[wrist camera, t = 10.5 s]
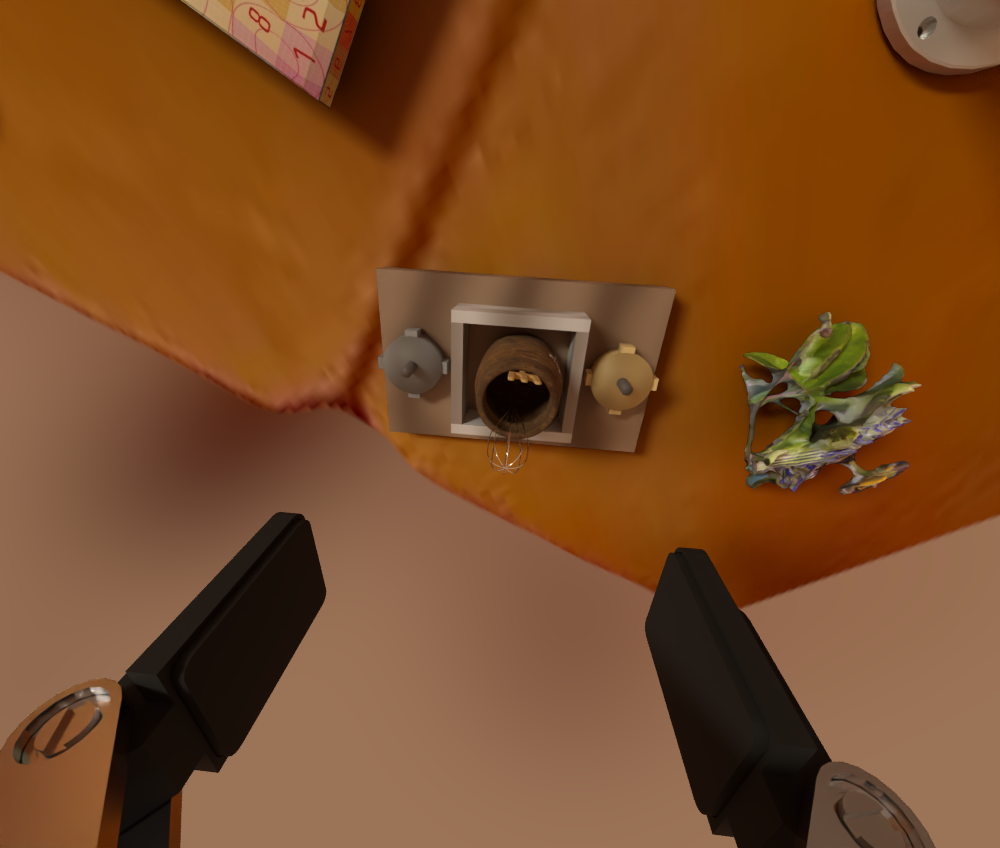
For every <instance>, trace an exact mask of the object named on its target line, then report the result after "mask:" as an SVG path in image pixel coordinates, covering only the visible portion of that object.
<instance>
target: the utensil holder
mask: <svg viewBox="0 0 1000 848" xmlns="http://www.w3.org/2000/svg"><path fill="white" fill-rule="evenodd" d="M475 393H476V406H477V410H478V413H479V416H480V418H481V419H482V421H483V422H484V424H485V425H486V426H487V427H488V428H489V429H490V430H492V431H493V432H494V433H495V437H496V434H498V436H499V435H500V436H503V437H506V438H508V441H509V445H510V439H519V443H520V439H524V441H525V438H527V440H528V438H530V437H533V436H535V435H537V434H539V433H541V432H542V431H544V430H545V429H546V428H547V427H548V426H549V425H550V424H551V423H552V421H553V419H554V418H555V416H556V413H557V410H558V406H559V401H560V398H561V393H562V378H561V372H560V368H559V364H558V361H557V358H556V356H555V354H554V352H553V350H552V349H551V348H550V346H549V345H548V344H547V343H546V342H545V341H543V340H542V339H540V338H539V337H537V336H534V335H532V334H528V333H512V334H508V335H505V336H503V337H501V338H499V339H498V340H496V341H495V342H494V343H493V344H492V345H491V346H490V347H489V348H488V350H487V351H486V353H485V355H484V356H483V359H482V361H481V363H480V366H479V368H478V371H477V375H476V380H475ZM492 431H491V433H492ZM491 433H490V435H491ZM497 438H498V437H497ZM489 439H490V436H489ZM496 441H497V439H496ZM496 441H495V439H494V447H495V443H496ZM488 444H489V440H488ZM523 447H524V442H523ZM507 448H508V452H509V446H508V443H507ZM528 448H529V441H528ZM522 450H523V448H522ZM493 451H494V448H493ZM495 452H496V448H495ZM521 453H522V451H521V445H520V454H519V456H520V458H521ZM496 455H497V452H496ZM487 456H488V446H487ZM506 456H507V458H508V453H507V450H506ZM519 456H518V457H519ZM497 457H498V455H497ZM518 457H517V459H518ZM527 457H528V450H527ZM527 457H526V460H527ZM488 458H489V456H488ZM492 458H493V452H492ZM498 459H499V457H498ZM517 459H516V460H517ZM489 460H490V458H489ZM516 460H515V461H516ZM526 460H525V462H526ZM490 461H491V466H492V463H493V462H492V460H490ZM499 461H500V459H499ZM515 461H514V462H515ZM500 462H501V461H500ZM514 462H513V463H514ZM525 462H524V463H525ZM513 463H511V464H510V465H512V464H513ZM524 463H523V464H524ZM493 464H495V463H493ZM501 464H502V462H501ZM505 464H507V459H506V458H505ZM523 464H522V465H523ZM495 465H496V464H495ZM502 465H503V464H502ZM510 465H509V466H510ZM522 465H520V460H519V466H518V467H515V468H518V470H519V467H520V466H522ZM496 466H498V465H496ZM503 466H504V465H503ZM509 466H507V467H509ZM499 467H501V466H499ZM507 467H506V465H505V466H504V467H502V468H503V469H504V474H505V470H506V469H507ZM492 468H493V466H492ZM493 469H494V468H493ZM503 469H500V470H503ZM508 469H514V468H508ZM508 469H507V470H508ZM494 470H496V469H494ZM518 470H517V471H518ZM496 471H499V470H496ZM508 471H509V470H508ZM517 471H516V472H517ZM509 472H511V471H509ZM516 472H511V473H516Z"/></svg>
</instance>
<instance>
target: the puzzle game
mask: <svg viewBox="0 0 1000 848" xmlns="http://www.w3.org/2000/svg"><path fill="white" fill-rule="evenodd" d="M181 1H182V2H184V3H185V4H186V5H188V6H189V7H191V8H192V9H193V10H195V11H196V12H197V13H199V14H200V15H202V16H203V17H204V18H206V19H207V20H208V21H210V22H211V23H213V24H214V25H215V26H217V27H218V28H219V29H221V30H222V31H224V32H225V33H226V34H228V35H229V36H230V37H232V38H233V39H235V40H236V41H237V42H239V43H240V44H241V45H243V46H244V47H246V48H247V49H248V50H250V51H251V52H252V53H254V54H255V55H257V56H258V57H259V58H261V59H262V60H263V61H265V62H266V63H268V64H269V65H270V66H272V67H273V68H274V69H276V70H277V71H279V72H280V73H281V74H283V75H284V76H285V77H287V78H288V79H289V80H291V81H292V82H294V83H295V84H296V85H298V86H299V87H300V88H302V89H303V90H305V91H306V92H307V93H309V94H310V95H311V96H313V97H314V98H316V99H317V100H318V101H320V102H321V103H323V104H324V105H325V106H327V107H328V108H330V106H331V103H332V100H333V97H334V94H335V91H336V89H337V87H338V84H339V81H340V78H341V74H342V71H343V68H344V65H345V62H346V59H347V56H348V53H349V50H350V47H351V44H352V41H353V38H354V35H355V32H356V29H357V26H358V22H359V19H360V16H361V13H362V10H363V7H364V4H365V1H366V0H181Z"/></svg>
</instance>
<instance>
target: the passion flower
mask: <svg viewBox="0 0 1000 848" xmlns="http://www.w3.org/2000/svg"><path fill="white" fill-rule="evenodd" d="M831 317H832V316H831V313H829V312H826V313H823V314H821V315H820V316H819V317H818V319H819V320H820V321H821V322H822V327H820V328H818V329H816V330H815V331H814V332H813V333H812V334H811V335H810V336H809V337H808V338H807V339H806V340H805V342H804V343H803V344H802V345H801V346H800V348H799V349H798V351H797V352H796V353H795V354H794V356H793V357H792V359H791V360H790V362H789V363H788V362H787V360H785V359H782V358H779V357H777V356H775V355H772V354H768V353H761V352H752V353H745V354H744V356H745V358H749V359H751V360H753V361H755V362H757V363H759V364H760V365H762V366H763V367H765V368H766V369H768V370H769V371H770V372H771V374H772V376H773V380H772V382H771V383H767V382H765V381H764V380H762V379H753V378H751V377H750V376H749V375H748V374H747V373H746V371H745V368H744V366H743V364H742V365H741V366H740V369H741V371H742V376H743V378H744V380H745V383H746V387H747V391H748V402H747V404H748V406H749V407H750V412H751V415H750V425H749V434H748V440H747V445H746V448H745V461H746V463H747V466H745V469H746V470H747V471H748V472H750V473H751V474H750V475H749V476H748V477H747V479H746V483H747V485H748V486H749V487H751V488H754V489H756V487H757V486H759V485H761V484H762V483H764V482H772V483H774V484H777V485H779V486H780V487H781V488H784V489H786V488H787V487H789V486H790V485H791V486H790V489H791V490H792V492H793V491H795V490H796V489H797V487H798V486H799V485H800V484H802V482H804V481H805V480H807V479H810V478H813V477H815V476H816V475H817V474H818V472H819V471H820V470H821V467H823V466H825V465H828V464H831V463H835V464H841V465H844V466H847V467H848V468H849V469H850V470H852V472H853V478H852V479H851V480H850V481H849V482H847V483H845V484H844V485H842V486H841V487H840V489H839V492H840V493H841V494H842V495H844V494H849V493H856V492H861V491H863V490H864V489H867V488H869V487H874V488H875V487H876V486H877V485H878V484H880V483H882V482H883V481H885V480H887V479H889V478H893V477H895V476H897V475H898V474H899V473H902V472H903V470H904V469H906V468H908V467H909V463H908V462H905V461H900V462H895V463H892V464H887V465H886V464H883V465H880V466H879V467H877V468H876V469H875V470H872V471H866V470H864V469H862V468H861V467H859V466H858V465H856V464H855V453H857V450H858V449H860V448H862V446H863V445H867V444H870V443H873V442H875V441H874V440H876V439H878V438H880V437H883V436H885V435H886V434H889V433H890V432H892V431H893V430H894V429H896V428H897V427H899V426H902V425H903V424H906V423H908V422H911V421H909V420H907V419H906V418H903V417H902V414H904V413H903V412H904V411H905V410H907V408H897V407H891V406H890V404H891V402H892V401H893V400H895V399H897V398H898V397H900V396H901V395H903V394H907V393H909V392H913V391H915V390H914V389H913V388H916V387H919V386H921V384H918V383H916V381H912V382H901V381H902V377H903V376H904V370H903V367H901V366H900V365H898V364H896V363H894V364H892V368H891V369H890V370H889V373H888V374H886V375H883V377H882V378H881V380H880V381H879V382H876V383H875V384H874V386H873V387H872V388H870V389H868V390H867V391H865V392H863V393H861V394H859V395H857V396H854V397H849V398H845V399H836V398H831V397H826V396H825V395H831V393H833V392H846V391H850V390H855V389H860V388H862V387H861V386H864V385H865V383H866V382H867V378H866V377H867V374H866V370H865V366H866V364H867V361H868V359H869V357H870V351H869V348H868V347H869V346H870V344H869V342H867V341H869V340H870V339H869V336H868V334H867V331H866V329H865V328H864V325H862V324H861V323H852V322H848V321H846V322H842V323H837V324H832V323H831ZM796 360H797V361H796ZM795 361H796V364H795V365H794V366H792V365H793V364H794V362H795ZM782 382H784V383H788V389H787V390H786V391H785V392H783V393H781V394H778V395H770V396H769V395H767V394H768V393H769V392H770V391H771V390H772V389H773V388H774V387H775V386H776V385H777V384H779V383H782ZM787 397H792V398H797V399H798V400H799V401H800V410H799V412H798V413H797V412H795V411H793V410H792V409H790V408H788V407H787V406H785V405H783V404H782V403H781V399H783V398H787ZM766 403H775V404H777V405H779V406H781V407H783V408H784V409H786V410H788V411H790V412H792V413H794V414H796V415H797V417H796V419H795V421H794V424H793V425H792V426H790V427H789V428H788V429H787V430H786V431H785V432H784V433H783V434H782V435H781V436H780V437H778V438H777V439H775V440H774V441H773V443H772V444H770V445H768V446H766V448H767V449H766V450H764V451H762V452H759V453H753V452H752V451H751V445H752V441H753V437H754V427H755V420H756V413H757V411H758V410H759V409H760V407H761V406H763V405H765V404H766ZM818 410H826V411H829V412H831V413H833V414H834V415H833V416H832V417H831V419H830V420H829V421H828V423H826V424H825V425H818V424H816V423H814V421H815V412H816V411H818ZM904 420H907V422H902V421H904Z"/></svg>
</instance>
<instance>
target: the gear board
mask: <svg viewBox="0 0 1000 848" xmlns="http://www.w3.org/2000/svg"><path fill="white" fill-rule="evenodd" d="M376 274H377V286H378V298H379V310H380V322H381V334H382V346H383V354H382V355H380V356H379V357H378V364H379V369H384V371H385V382H386V394H387V406H388V418H389V430H390V431H393V432H405V433H416V434H428V435H440V436H451V437H463V438H474V439H486V440H494V439H495V440H496V439H497V441H508V438H506V437H503V436H500V435H499V436H498V434H496V437H495V433H494V432H493V431H492V430H490V429H489V428H488V427H487V426H486V425H485V424H484V422H483V421H482V419H481V418H480V416H479V413H478V410H477V406H476V393H475V380H476V375H477V371H478V368H479V366H480V363H481V361H482V359H483V356H484V355H485V353H486V351H487V350H488V348H489V347H490V346H491V345H492V344H493V343H494V342H495V341H496V340H498V339H499V338H501V337H503V336H505V335H508V334H512V333H528V334H532V335H534V336H537V337H539V338H540V339H542V340H543V341H545V342H546V343H547V344H548V345H549V346H550V348H551V349H552V350H553V352H554V354H555V356H556V358H557V361H558V364H559V368H560V372H561V378H562V393H561V398H560V401H559V406H558V410H557V413H556V416H555V418H554V419H553V421H552V423H551V424H550V425H549V426H548V427H547V428H546V429H545V430H544V431H542V432H541V433H539V434H537V435H535V436H533V437H530V438H528V440H527V438H525V441H524V439H520V442H521V443H523V442H524V443H528V441H529V443H532V444H544V445H555V446H567V447H578V448H590V449H601V450H613V451H625V452H635V448H636V444H637V440H638V436H639V432H640V428H641V425H642V421H643V417H644V413H645V409H646V405H647V401H648V397H649V394H650V391H656V389H657V385H658V381H659V379H658V378H657V377H656V376H655V375H654V374H655V370H656V366H657V362H658V359H659V355H660V351H661V347H662V343H663V339H664V335H665V331H666V328H667V324H668V320H669V316H670V312H671V308H672V304H673V300H674V296H675V293H676V289H673V288H669V287H664V286H650V285H635V284H621V283H607V282H592V281H578V280H564V279H549V278H535V277H521V276H506V275H492V274H478V273H463V272H449V271H435V270H420V269H406V268H392V267H383V268H376ZM491 431H492V433H491ZM490 433H491V435H490ZM489 436H490V439H489ZM497 437H498V438H497ZM510 442H519V439H510Z"/></svg>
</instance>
